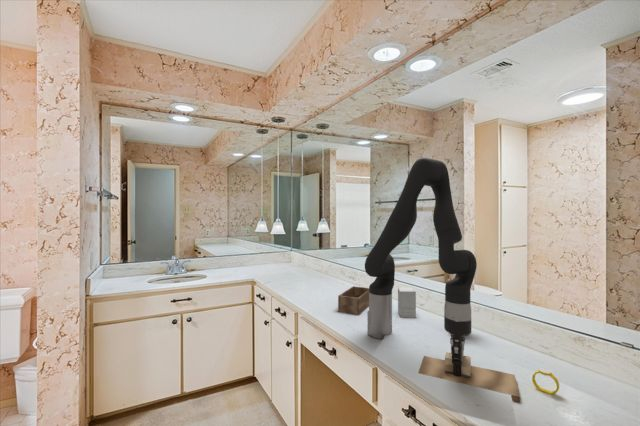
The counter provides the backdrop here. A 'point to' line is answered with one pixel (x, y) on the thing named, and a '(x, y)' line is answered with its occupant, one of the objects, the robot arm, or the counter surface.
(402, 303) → the supplement box
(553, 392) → the yellow wavy ring
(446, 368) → the block
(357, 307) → the open wooden box
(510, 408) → the counter surface
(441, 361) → the board
